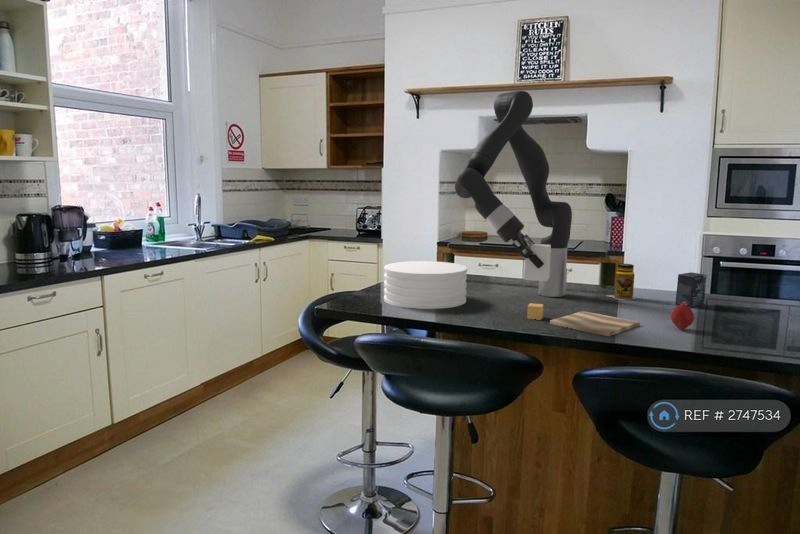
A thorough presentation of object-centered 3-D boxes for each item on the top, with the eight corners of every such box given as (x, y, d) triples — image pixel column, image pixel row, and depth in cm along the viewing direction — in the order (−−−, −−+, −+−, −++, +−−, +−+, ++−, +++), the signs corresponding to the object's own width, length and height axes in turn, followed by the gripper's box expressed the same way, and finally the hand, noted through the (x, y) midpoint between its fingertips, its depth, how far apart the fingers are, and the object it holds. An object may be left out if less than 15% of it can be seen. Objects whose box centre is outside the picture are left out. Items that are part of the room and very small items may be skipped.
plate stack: (436, 313, 180) (437, 276, 178) (367, 301, 197) (367, 267, 195) (481, 299, 202) (482, 266, 200) (415, 289, 219) (415, 258, 217)
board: (582, 314, 180) (582, 311, 180) (639, 325, 167) (639, 321, 167) (549, 323, 168) (549, 320, 167) (608, 336, 155) (609, 332, 154)
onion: (665, 327, 165) (667, 299, 164) (685, 326, 165) (687, 299, 164) (677, 332, 159) (679, 304, 158) (697, 332, 160) (699, 303, 158)
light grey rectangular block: (527, 276, 177) (529, 243, 175) (549, 277, 175) (550, 244, 173) (524, 279, 171) (525, 246, 169) (546, 281, 169) (547, 247, 167)
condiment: (622, 300, 200) (625, 266, 198) (605, 296, 208) (607, 262, 206) (639, 299, 203) (641, 265, 201) (621, 294, 211) (623, 261, 209)
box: (691, 308, 189) (694, 276, 188) (674, 305, 194) (677, 273, 192) (704, 305, 194) (707, 274, 192) (688, 302, 198) (690, 271, 197)
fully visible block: (529, 316, 177) (530, 303, 177) (542, 317, 176) (543, 304, 175) (527, 319, 174) (527, 305, 173) (540, 320, 172) (541, 307, 171)
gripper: (509, 216, 166) (549, 259, 164) (518, 213, 179) (556, 253, 177) (490, 233, 169) (529, 276, 166) (500, 229, 182) (537, 269, 180)
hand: (543, 264), depth 172 cm, fingers closed on light grey rectangular block, 6 cm apart
